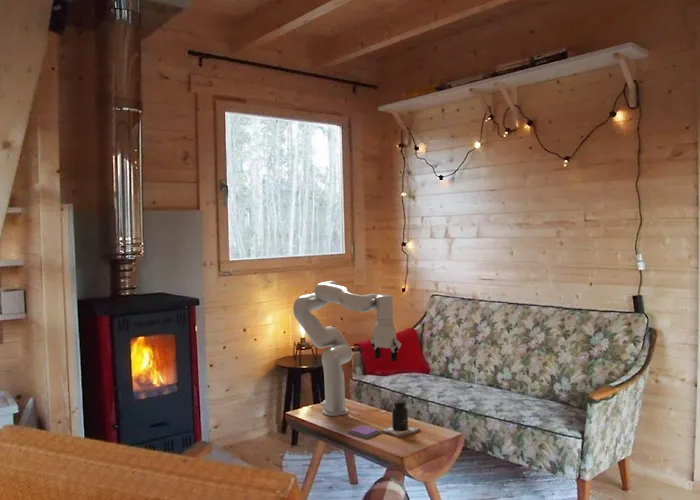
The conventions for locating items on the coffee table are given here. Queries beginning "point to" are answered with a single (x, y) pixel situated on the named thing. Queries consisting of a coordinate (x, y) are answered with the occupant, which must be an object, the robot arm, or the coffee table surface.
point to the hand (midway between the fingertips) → (386, 359)
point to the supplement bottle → (399, 416)
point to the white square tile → (401, 432)
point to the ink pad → (364, 432)
